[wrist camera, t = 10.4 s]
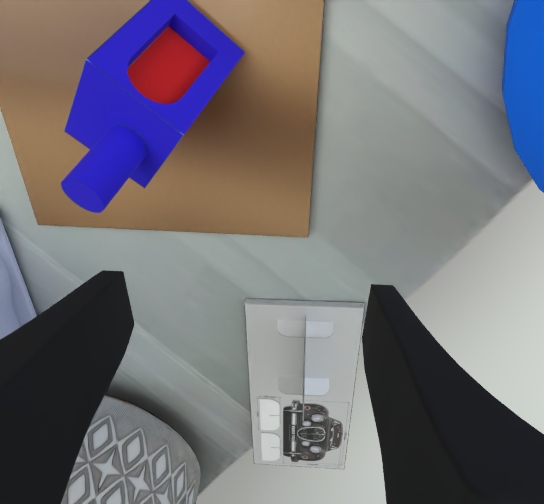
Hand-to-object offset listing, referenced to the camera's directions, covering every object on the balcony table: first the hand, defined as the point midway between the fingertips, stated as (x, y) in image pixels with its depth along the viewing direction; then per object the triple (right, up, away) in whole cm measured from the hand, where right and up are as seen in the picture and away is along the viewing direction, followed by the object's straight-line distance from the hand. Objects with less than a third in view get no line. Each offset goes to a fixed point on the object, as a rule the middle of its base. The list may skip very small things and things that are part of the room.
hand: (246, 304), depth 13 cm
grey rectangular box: (+3, -7, +16) cm, 18 cm away
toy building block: (-4, +9, +6) cm, 11 cm away
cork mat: (-4, +9, +6) cm, 11 cm away
